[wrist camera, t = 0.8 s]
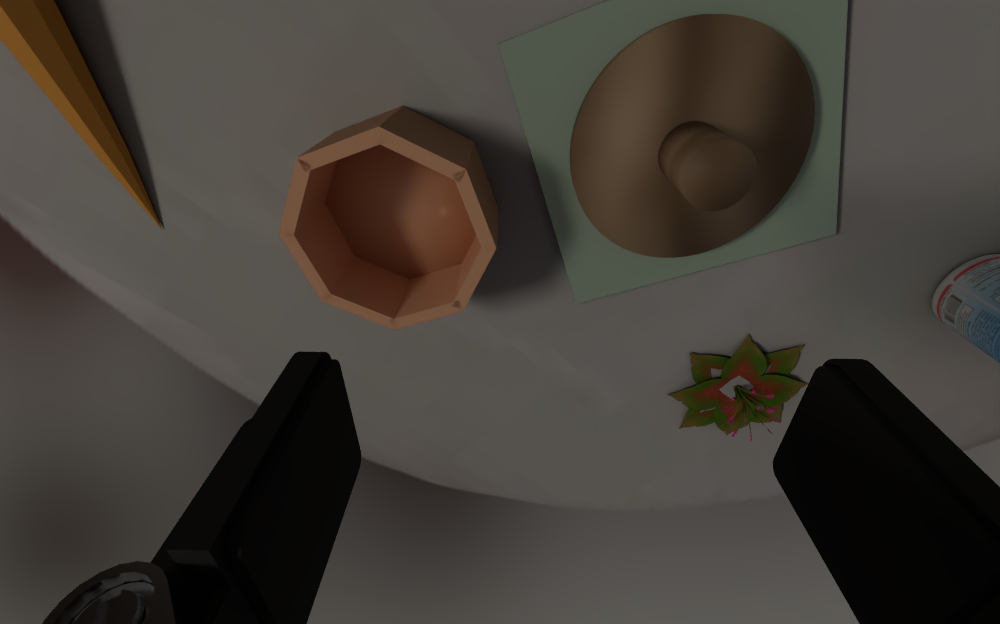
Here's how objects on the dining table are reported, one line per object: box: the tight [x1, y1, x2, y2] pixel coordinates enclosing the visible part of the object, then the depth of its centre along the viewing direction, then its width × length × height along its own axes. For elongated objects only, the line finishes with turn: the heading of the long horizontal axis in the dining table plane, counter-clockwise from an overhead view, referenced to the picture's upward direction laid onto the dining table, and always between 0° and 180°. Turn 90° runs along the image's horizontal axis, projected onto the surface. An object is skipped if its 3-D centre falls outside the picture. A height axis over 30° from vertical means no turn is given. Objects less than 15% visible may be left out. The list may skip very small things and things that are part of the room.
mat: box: [498, 0, 848, 304], centre depth 29 cm, size 18×18×1 cm
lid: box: [570, 14, 815, 258], centre depth 26 cm, size 14×14×6 cm
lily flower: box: [667, 334, 808, 441], centre depth 38 cm, size 12×12×5 cm
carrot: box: [0, 0, 162, 229], centre depth 27 cm, size 20×4×4 cm, turn 7°
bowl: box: [279, 106, 499, 330], centre depth 29 cm, size 12×12×6 cm
